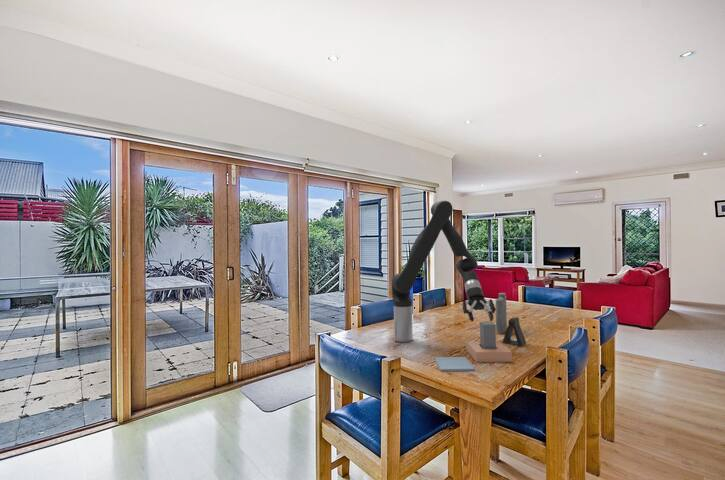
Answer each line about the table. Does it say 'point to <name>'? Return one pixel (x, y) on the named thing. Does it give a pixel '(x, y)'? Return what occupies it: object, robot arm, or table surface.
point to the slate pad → (454, 364)
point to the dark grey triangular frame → (518, 332)
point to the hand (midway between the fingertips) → (482, 320)
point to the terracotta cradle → (489, 352)
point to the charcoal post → (487, 335)
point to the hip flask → (501, 314)
